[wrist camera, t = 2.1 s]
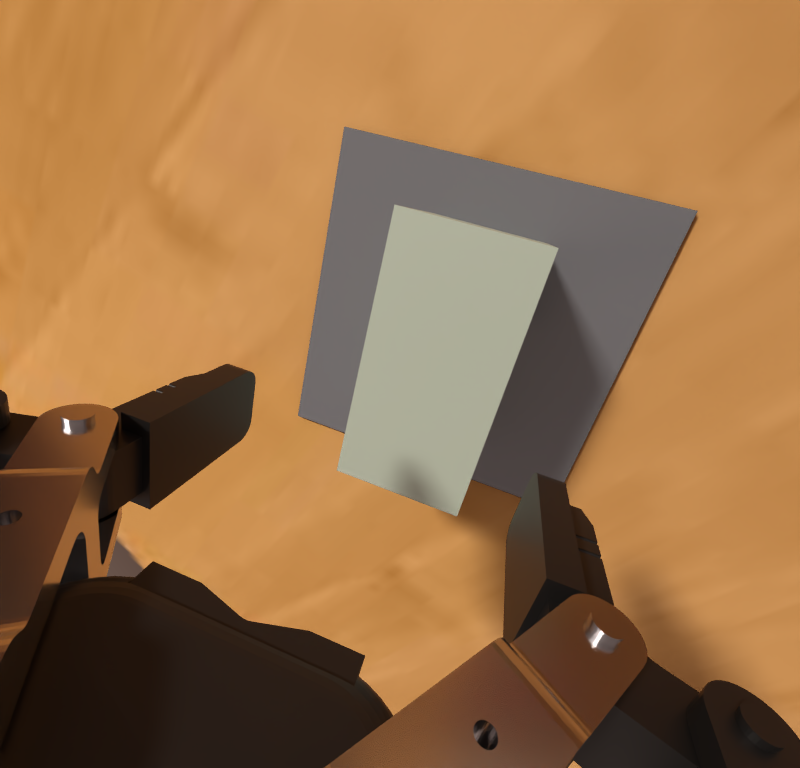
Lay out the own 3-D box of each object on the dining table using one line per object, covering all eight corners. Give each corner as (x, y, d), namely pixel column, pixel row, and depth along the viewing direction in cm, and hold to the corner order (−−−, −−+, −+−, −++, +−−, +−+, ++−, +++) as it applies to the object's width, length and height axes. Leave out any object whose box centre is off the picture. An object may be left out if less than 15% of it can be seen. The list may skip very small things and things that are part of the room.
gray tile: (695, 211, 20) (697, 211, 19) (551, 505, 27) (551, 508, 26) (346, 127, 22) (344, 126, 22) (300, 413, 29) (297, 415, 29)
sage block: (545, 243, 21) (558, 248, 14) (474, 437, 26) (456, 516, 19) (435, 213, 22) (394, 204, 15) (386, 406, 27) (336, 470, 20)
